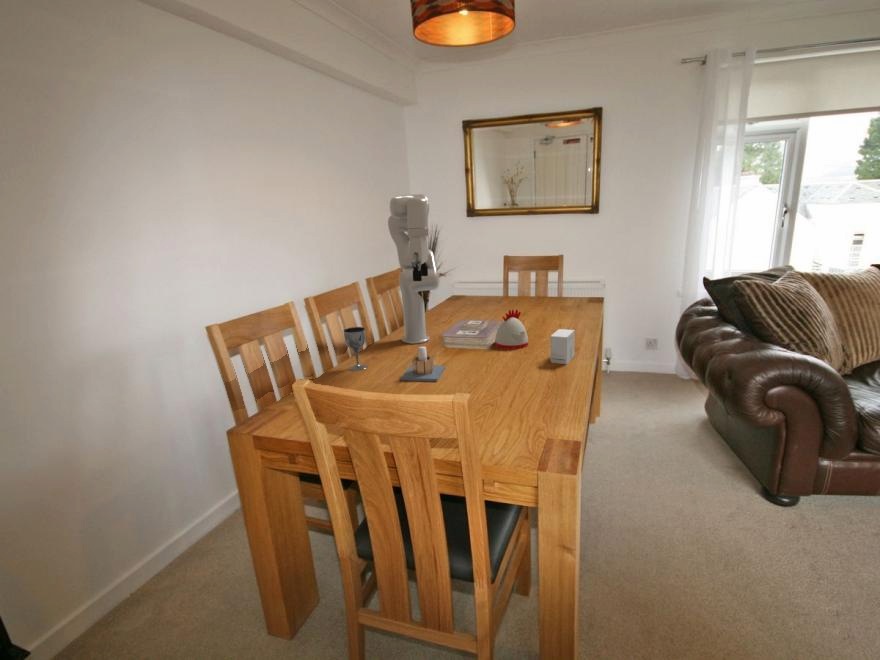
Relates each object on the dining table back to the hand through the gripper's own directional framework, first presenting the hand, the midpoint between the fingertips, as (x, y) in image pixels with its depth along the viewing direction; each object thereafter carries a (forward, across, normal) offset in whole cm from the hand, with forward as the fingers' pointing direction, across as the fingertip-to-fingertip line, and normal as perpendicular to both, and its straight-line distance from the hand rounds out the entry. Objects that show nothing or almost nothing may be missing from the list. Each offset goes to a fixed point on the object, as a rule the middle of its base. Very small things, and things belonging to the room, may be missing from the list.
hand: (420, 278), depth 176 cm
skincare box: (+31, -1, +53) cm, 62 cm away
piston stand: (+31, +20, +4) cm, 37 cm away
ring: (+30, +19, +4) cm, 36 cm away
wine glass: (+32, +15, -23) cm, 42 cm away
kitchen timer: (+32, -19, +33) cm, 50 cm away
